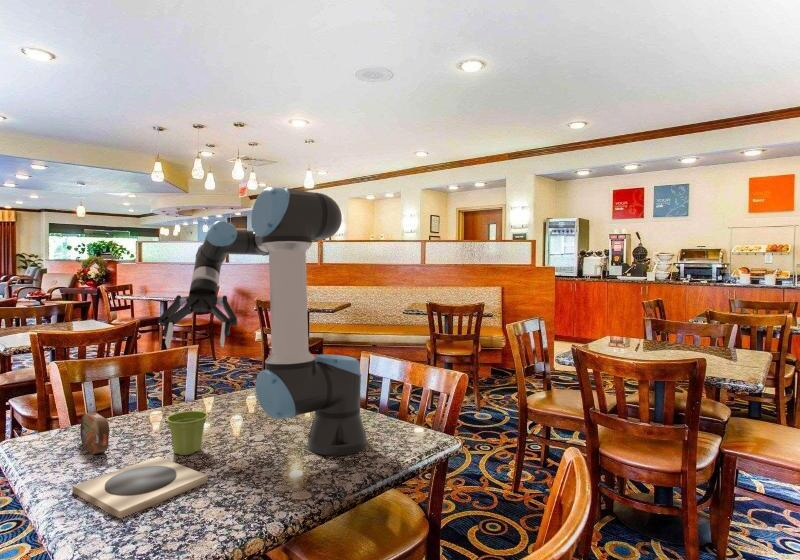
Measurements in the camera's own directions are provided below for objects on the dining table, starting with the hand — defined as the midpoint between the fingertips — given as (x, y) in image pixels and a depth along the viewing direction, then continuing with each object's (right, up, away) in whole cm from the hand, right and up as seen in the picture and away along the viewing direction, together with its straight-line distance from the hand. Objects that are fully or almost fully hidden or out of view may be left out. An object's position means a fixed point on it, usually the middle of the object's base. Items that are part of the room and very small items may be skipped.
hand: (195, 344), depth 128 cm
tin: (-21, -25, -9) cm, 34 cm away
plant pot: (+2, -25, -9) cm, 27 cm away
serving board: (+1, -26, -29) cm, 39 cm away
